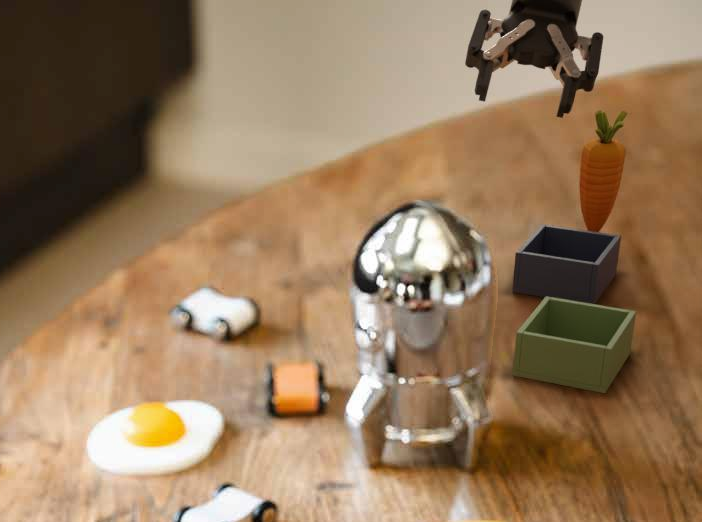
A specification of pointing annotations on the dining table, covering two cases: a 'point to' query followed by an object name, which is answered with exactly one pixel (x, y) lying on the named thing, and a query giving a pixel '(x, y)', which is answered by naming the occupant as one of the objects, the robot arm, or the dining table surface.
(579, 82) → the robot arm
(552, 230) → the blue bin
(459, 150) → the dining table surface
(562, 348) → the green bin
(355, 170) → the dining table surface
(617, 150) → the carrot
